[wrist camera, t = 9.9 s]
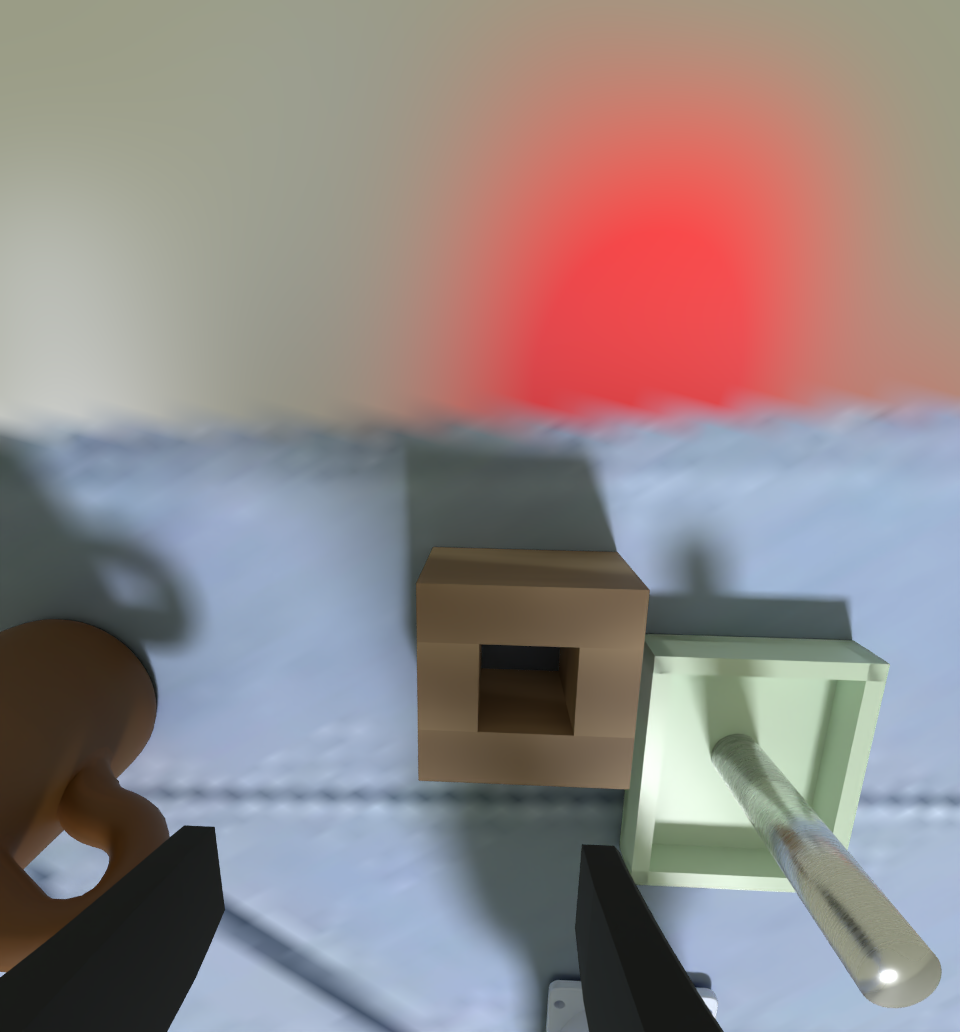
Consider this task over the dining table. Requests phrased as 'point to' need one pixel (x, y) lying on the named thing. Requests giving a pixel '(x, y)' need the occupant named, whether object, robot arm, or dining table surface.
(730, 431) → the dining table surface
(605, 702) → the walnut block
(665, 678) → the tray
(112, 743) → the mug
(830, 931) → the pin
